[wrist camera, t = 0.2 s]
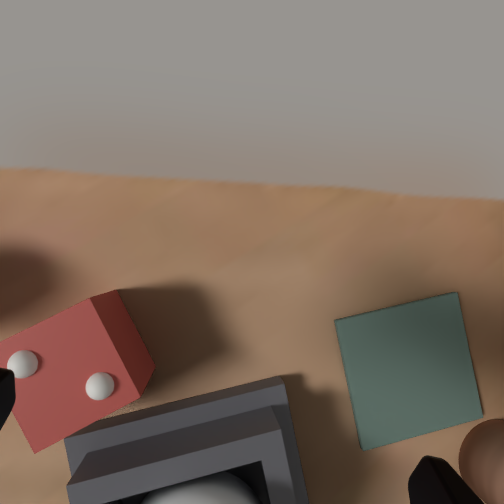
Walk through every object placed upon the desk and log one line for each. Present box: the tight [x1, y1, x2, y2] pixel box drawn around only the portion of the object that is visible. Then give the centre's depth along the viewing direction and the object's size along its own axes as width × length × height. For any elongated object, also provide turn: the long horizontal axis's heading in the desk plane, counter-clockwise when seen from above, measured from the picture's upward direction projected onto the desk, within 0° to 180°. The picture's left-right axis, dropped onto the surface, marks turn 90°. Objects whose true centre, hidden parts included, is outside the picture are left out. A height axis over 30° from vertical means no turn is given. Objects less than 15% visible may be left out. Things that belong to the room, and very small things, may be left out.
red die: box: [0, 290, 156, 454], centre depth 19 cm, size 5×5×6 cm
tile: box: [334, 292, 483, 451], centre depth 24 cm, size 8×8×1 cm
